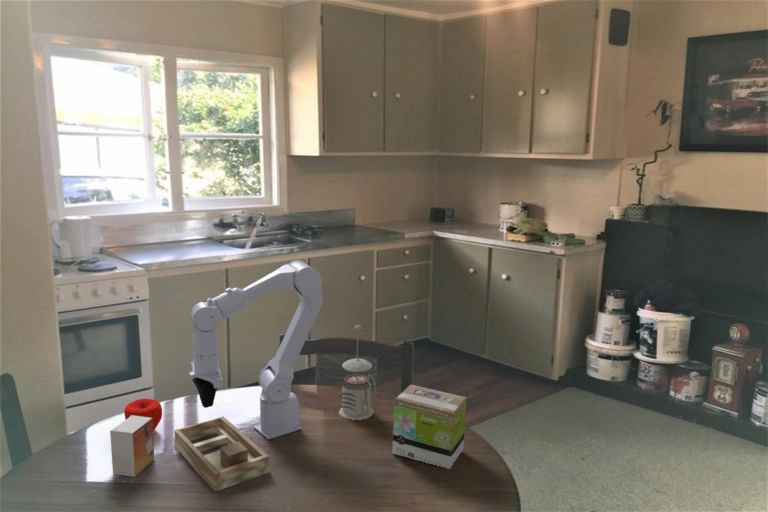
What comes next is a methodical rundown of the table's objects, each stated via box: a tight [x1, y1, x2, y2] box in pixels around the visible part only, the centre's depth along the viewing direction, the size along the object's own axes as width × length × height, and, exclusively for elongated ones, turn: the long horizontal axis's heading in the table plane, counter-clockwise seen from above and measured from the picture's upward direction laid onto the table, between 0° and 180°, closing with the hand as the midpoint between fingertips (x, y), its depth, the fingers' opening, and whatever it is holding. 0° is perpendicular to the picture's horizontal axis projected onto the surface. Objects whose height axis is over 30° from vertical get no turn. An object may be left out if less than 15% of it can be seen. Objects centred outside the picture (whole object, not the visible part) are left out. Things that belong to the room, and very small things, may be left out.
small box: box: [109, 415, 155, 478], centre depth 136 cm, size 8×6×10 cm
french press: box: [338, 324, 377, 421], centre depth 164 cm, size 10×12×25 cm
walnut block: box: [220, 442, 248, 468], centre depth 135 cm, size 4×4×4 cm
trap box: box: [173, 415, 271, 493], centre depth 141 cm, size 13×24×4 cm, turn 39°
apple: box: [123, 398, 163, 432], centre depth 152 cm, size 9×9×8 cm
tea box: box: [392, 384, 468, 469], centre depth 145 cm, size 15×10×15 cm, turn 65°
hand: (207, 406), depth 147 cm, fingers closed
